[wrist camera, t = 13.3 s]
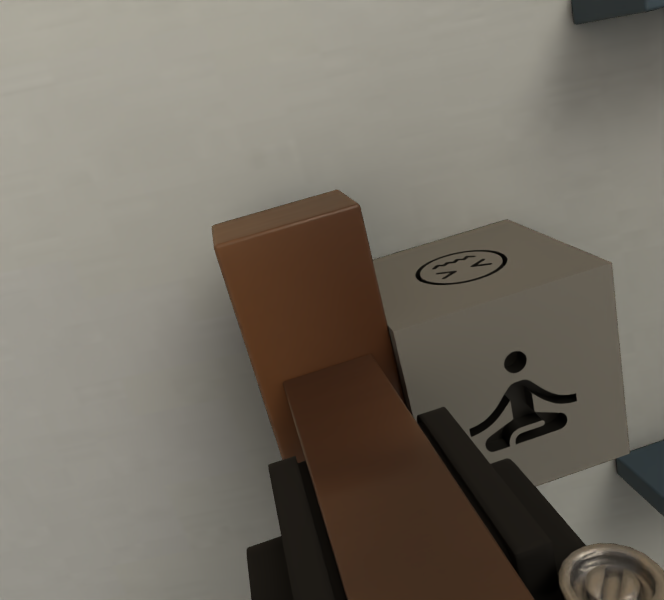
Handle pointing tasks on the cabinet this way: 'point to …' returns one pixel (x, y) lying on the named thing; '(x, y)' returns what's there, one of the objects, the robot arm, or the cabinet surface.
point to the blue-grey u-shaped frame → (660, 458)
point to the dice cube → (511, 345)
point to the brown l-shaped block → (352, 407)
